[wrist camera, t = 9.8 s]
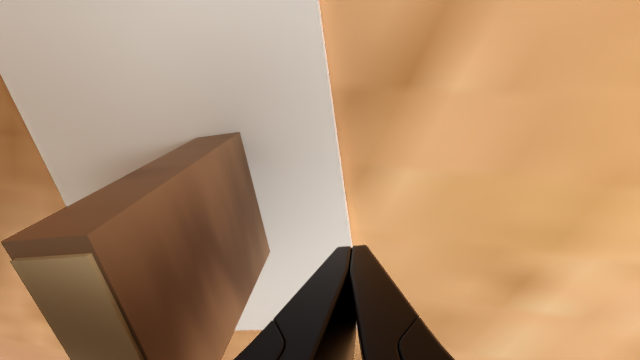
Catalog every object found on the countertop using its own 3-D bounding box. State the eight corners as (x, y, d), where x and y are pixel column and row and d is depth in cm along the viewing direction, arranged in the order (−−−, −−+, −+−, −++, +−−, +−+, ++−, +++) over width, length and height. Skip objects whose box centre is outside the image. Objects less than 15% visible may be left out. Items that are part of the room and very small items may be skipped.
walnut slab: (270, 251, 15) (184, 440, 8) (232, 254, 16) (115, 437, 8) (239, 132, 13) (82, 238, 6) (196, 137, 14) (-5, 244, 6)
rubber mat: (362, 319, 17) (362, 328, 17) (135, 324, 19) (128, 332, 19) (307, -88, 11) (303, -95, 10) (-24, -6, 13) (-41, -9, 12)
